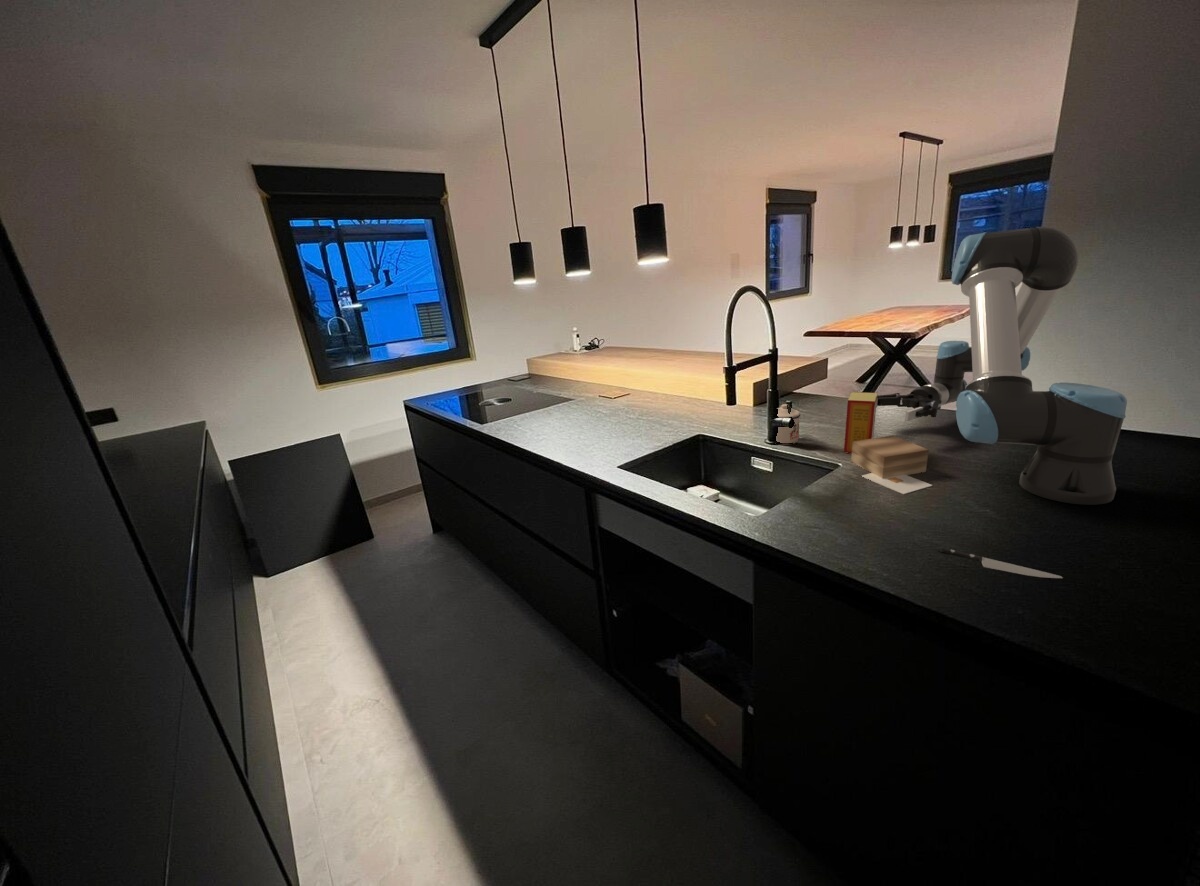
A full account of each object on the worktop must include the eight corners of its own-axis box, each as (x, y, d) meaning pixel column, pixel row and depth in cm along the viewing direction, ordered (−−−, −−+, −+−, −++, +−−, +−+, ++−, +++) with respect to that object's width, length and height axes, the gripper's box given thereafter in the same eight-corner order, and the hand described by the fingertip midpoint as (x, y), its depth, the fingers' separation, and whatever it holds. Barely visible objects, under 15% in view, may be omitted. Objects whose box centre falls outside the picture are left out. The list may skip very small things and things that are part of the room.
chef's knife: (1078, 592, 76) (1076, 581, 78) (1079, 587, 75) (1078, 576, 77) (934, 558, 88) (935, 549, 90) (934, 553, 87) (936, 544, 89)
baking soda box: (847, 442, 143) (851, 390, 138) (872, 444, 140) (877, 391, 134) (843, 453, 136) (847, 399, 131) (869, 455, 132) (875, 400, 127)
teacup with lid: (796, 446, 144) (797, 409, 140) (765, 443, 149) (766, 407, 145) (803, 433, 153) (805, 399, 150) (774, 431, 158) (775, 397, 154)
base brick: (925, 471, 119) (928, 449, 117) (882, 479, 118) (884, 456, 116) (890, 455, 131) (893, 435, 129) (850, 462, 129) (852, 441, 127)
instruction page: (932, 485, 112) (932, 484, 112) (903, 494, 110) (903, 492, 110) (888, 469, 123) (888, 467, 123) (861, 476, 121) (861, 475, 121)
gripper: (970, 417, 138) (926, 433, 129) (887, 401, 159) (844, 415, 151) (975, 392, 135) (929, 407, 127) (890, 379, 156) (846, 392, 148)
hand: (883, 411), depth 139 cm, fingers open, 13 cm apart
